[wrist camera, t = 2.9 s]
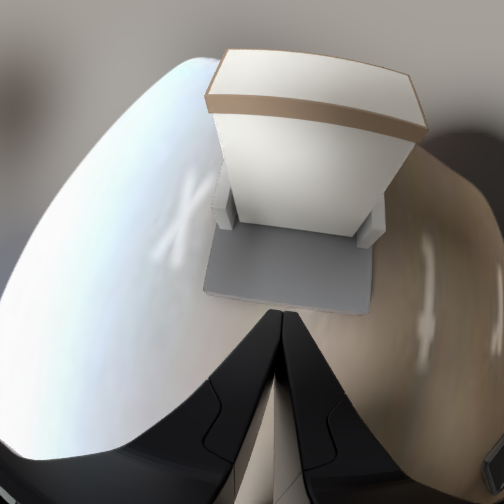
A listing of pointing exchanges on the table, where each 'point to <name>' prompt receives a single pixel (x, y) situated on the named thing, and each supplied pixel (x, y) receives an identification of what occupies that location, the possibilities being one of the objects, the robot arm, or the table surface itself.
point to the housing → (290, 261)
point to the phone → (494, 468)
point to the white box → (311, 136)
